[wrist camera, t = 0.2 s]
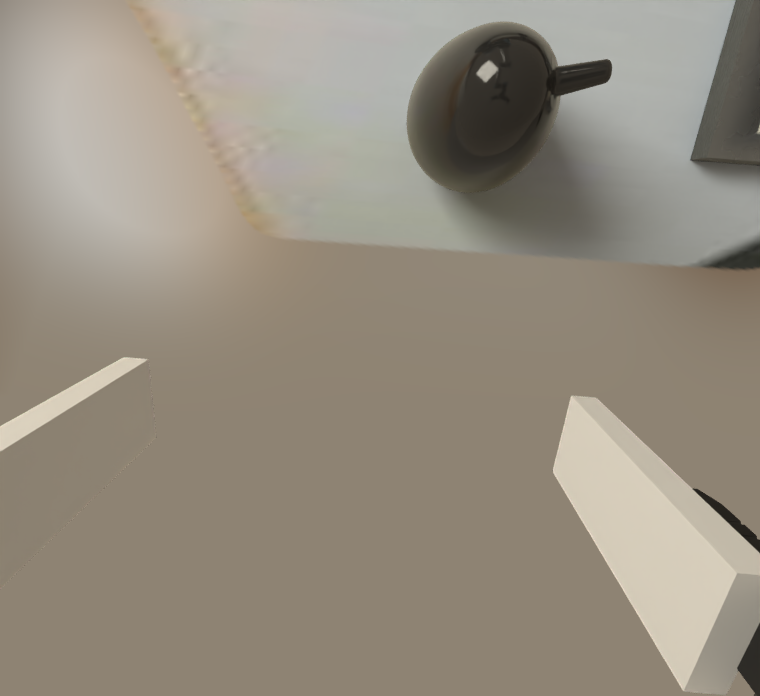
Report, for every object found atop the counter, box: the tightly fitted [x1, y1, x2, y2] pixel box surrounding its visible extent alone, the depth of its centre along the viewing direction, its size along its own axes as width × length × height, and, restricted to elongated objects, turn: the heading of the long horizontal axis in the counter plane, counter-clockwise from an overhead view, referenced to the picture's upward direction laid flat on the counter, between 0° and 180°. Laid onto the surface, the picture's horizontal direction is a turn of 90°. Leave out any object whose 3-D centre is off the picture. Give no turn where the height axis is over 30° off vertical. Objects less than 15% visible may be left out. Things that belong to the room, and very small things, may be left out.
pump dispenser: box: [407, 22, 612, 193], centre depth 28 cm, size 10×10×15 cm
